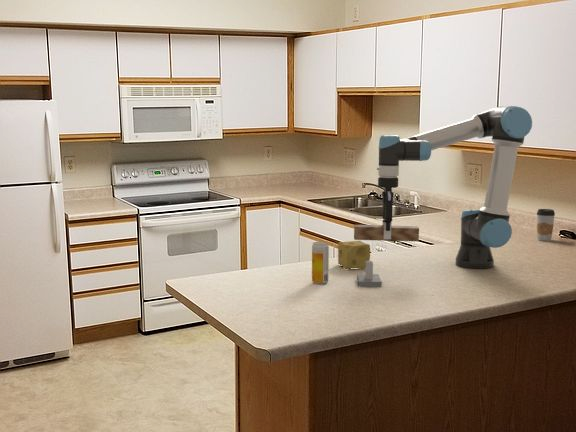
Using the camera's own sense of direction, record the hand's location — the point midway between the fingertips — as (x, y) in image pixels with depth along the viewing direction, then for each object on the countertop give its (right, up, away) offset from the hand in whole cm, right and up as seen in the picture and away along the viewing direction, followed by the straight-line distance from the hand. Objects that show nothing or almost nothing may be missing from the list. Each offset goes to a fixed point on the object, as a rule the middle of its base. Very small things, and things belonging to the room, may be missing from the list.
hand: (386, 237), depth 260 cm
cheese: (-11, -13, +19) cm, 25 cm away
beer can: (-26, -17, -7) cm, 31 cm away
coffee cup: (+88, -4, +75) cm, 115 cm away
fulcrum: (-8, -17, -8) cm, 20 cm away
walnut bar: (0, -1, 0) cm, 1 cm away
